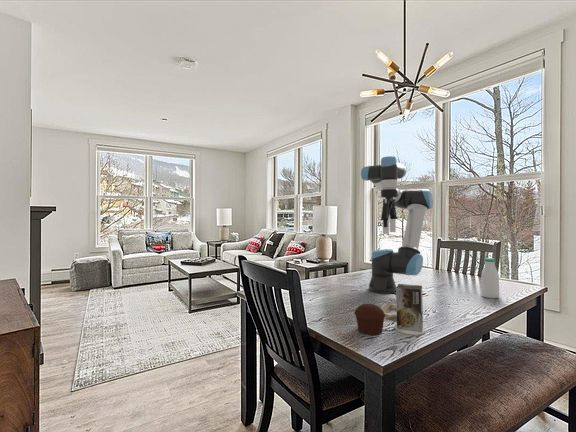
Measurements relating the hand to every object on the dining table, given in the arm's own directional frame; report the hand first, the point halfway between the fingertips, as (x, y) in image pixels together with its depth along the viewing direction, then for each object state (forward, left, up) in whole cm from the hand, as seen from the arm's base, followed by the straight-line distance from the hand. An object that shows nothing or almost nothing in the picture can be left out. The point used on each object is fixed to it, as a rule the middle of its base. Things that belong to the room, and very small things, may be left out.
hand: (389, 233), depth 151 cm
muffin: (+1, -37, -35) cm, 51 cm away
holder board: (+7, -13, -35) cm, 38 cm away
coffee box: (+14, -28, -34) cm, 46 cm away
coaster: (+14, -28, -35) cm, 47 cm away
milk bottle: (+42, +38, -35) cm, 67 cm away
